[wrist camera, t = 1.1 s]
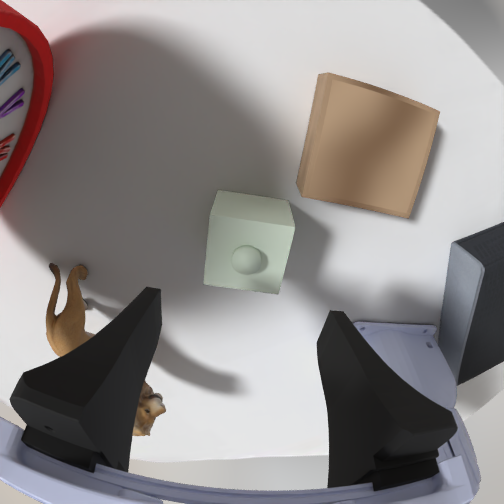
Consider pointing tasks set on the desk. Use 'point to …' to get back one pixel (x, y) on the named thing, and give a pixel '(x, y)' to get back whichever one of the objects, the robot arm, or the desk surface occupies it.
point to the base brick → (365, 146)
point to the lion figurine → (73, 335)
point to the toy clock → (21, 91)
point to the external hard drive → (474, 305)
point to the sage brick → (248, 242)
